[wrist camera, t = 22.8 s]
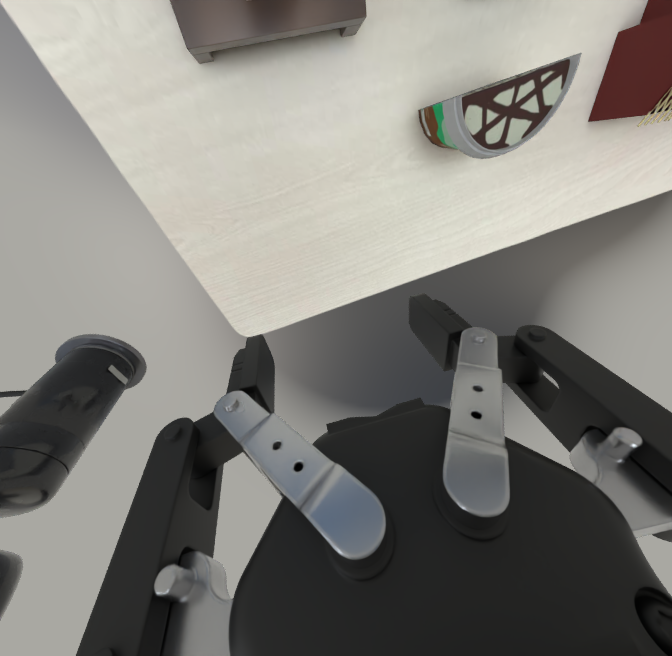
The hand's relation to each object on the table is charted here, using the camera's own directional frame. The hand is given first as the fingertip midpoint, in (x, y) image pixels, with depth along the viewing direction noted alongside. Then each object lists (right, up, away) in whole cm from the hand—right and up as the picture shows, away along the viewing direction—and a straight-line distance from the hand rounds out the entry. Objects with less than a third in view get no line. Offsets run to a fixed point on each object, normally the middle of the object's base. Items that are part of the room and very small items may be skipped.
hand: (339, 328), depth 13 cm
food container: (+15, +26, +18) cm, 35 cm away
